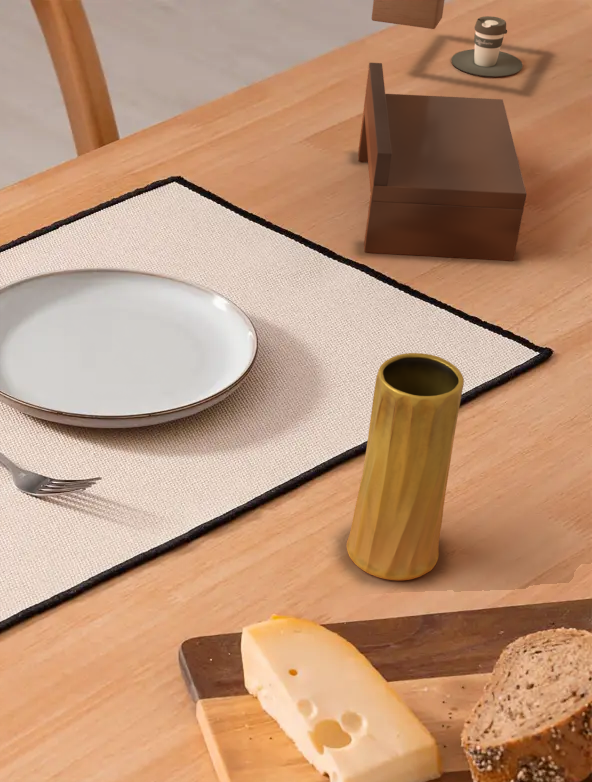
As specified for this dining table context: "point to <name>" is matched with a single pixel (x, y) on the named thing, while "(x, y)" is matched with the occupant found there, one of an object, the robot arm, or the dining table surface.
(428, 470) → the vase
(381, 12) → the wooden block
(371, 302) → the dining table surface
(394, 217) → the wooden box with backboard
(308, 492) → the dining table surface
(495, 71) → the coffee cup
